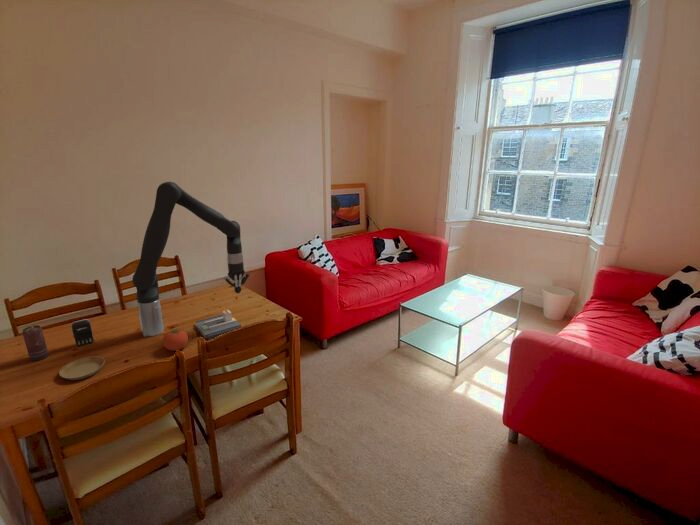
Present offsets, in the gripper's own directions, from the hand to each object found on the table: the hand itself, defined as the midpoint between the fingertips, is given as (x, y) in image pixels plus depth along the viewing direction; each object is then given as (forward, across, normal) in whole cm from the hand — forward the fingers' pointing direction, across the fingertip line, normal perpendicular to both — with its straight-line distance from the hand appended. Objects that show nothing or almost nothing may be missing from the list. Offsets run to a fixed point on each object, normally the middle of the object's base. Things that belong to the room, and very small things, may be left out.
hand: (238, 292), depth 181 cm
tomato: (+16, -34, -9) cm, 38 cm away
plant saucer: (+16, -68, -5) cm, 70 cm away
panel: (+16, -12, 0) cm, 20 cm away
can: (+16, -82, +18) cm, 85 cm away
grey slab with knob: (+16, -12, 0) cm, 20 cm away
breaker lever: (+14, -7, 0) cm, 15 cm away
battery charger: (+16, -66, +20) cm, 70 cm away
